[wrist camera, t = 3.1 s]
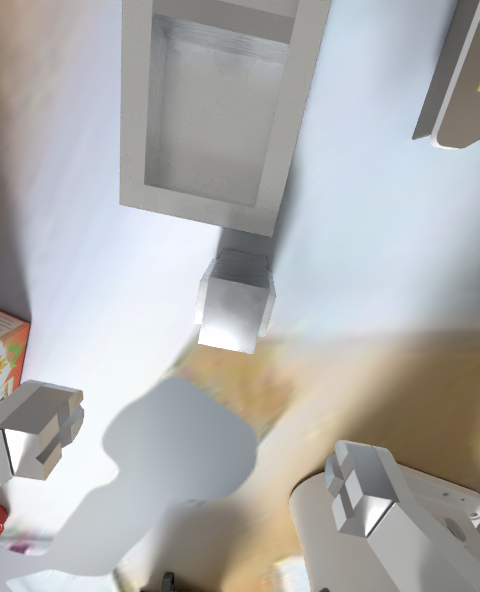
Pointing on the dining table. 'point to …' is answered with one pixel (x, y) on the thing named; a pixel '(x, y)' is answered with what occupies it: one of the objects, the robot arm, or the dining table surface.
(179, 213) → the grey rectangular tray
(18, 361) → the cracker box
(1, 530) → the smoothie
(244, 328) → the grey rectangular block
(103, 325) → the dining table surface
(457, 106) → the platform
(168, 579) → the coffee press
